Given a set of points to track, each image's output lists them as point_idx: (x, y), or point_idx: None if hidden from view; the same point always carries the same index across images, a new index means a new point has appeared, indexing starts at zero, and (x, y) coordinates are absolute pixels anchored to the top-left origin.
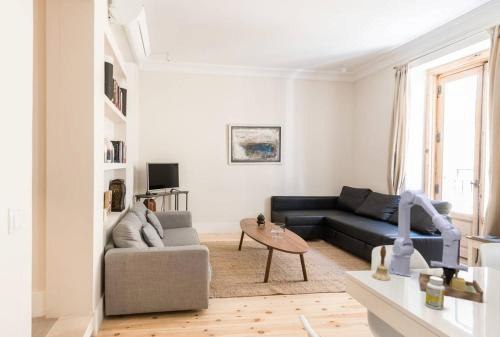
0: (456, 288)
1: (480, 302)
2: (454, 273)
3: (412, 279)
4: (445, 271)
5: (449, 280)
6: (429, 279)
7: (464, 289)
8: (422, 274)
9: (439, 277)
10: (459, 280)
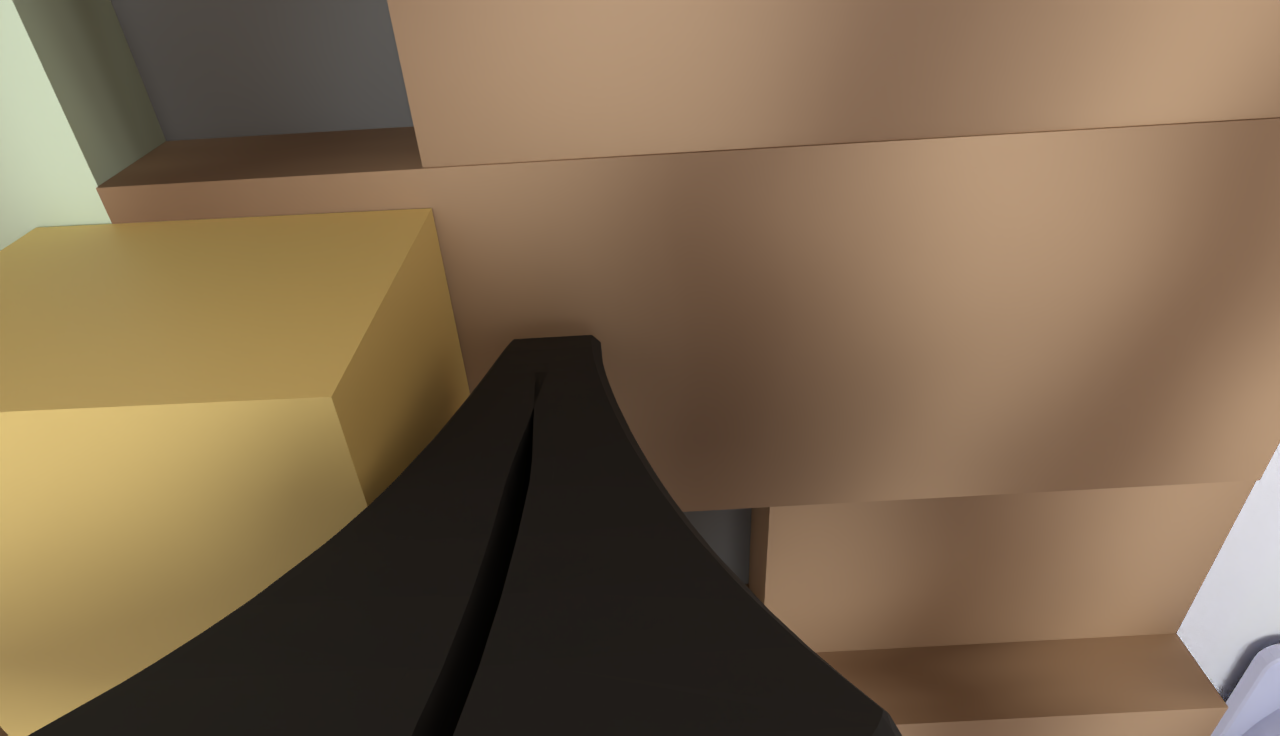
0: (280, 222)
1: None
2: (65, 723)
3: (1266, 540)
4: (743, 719)
5: (491, 418)
6: (978, 582)
7: (25, 250)
8: (1155, 696)
9: None
10: (36, 458)
